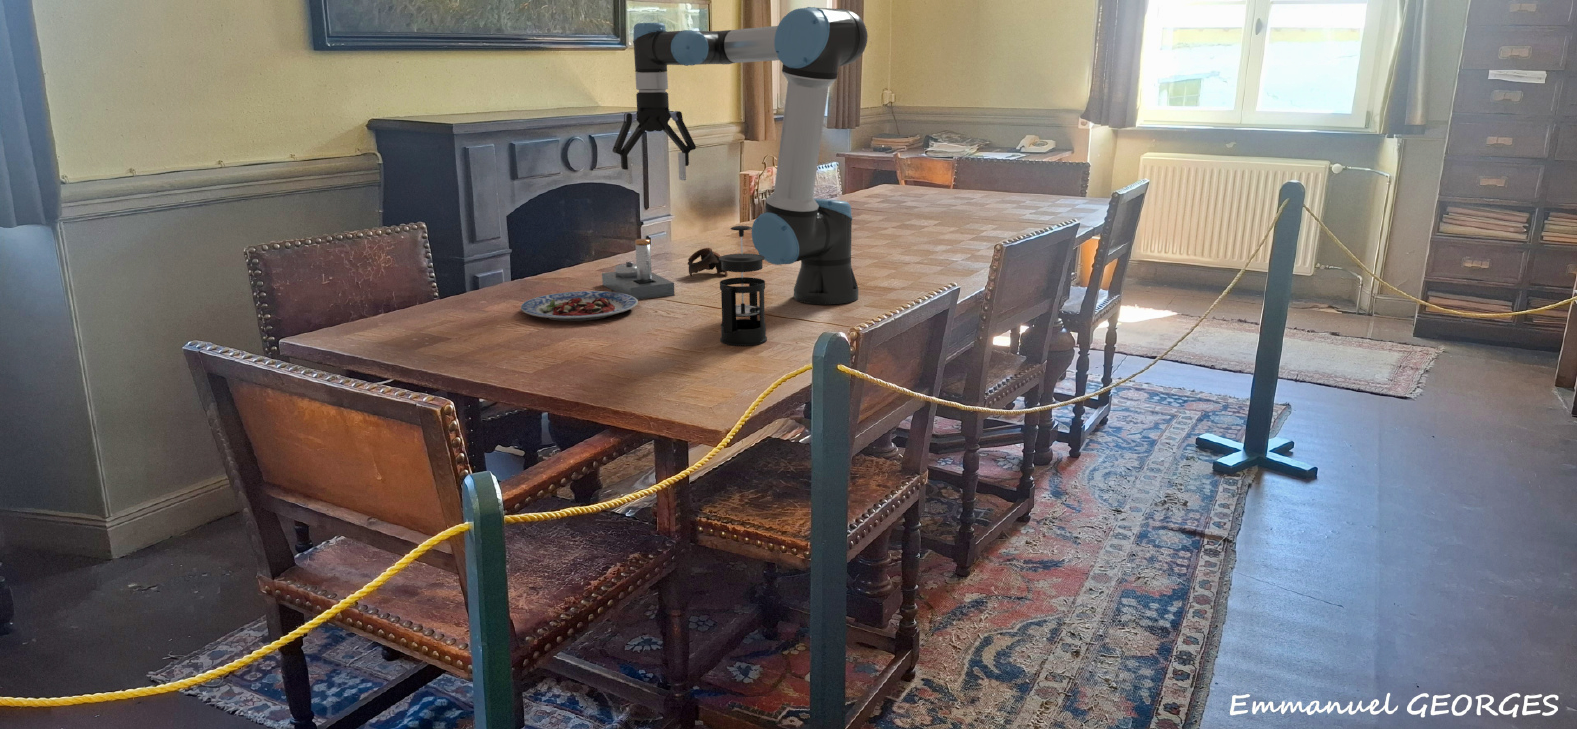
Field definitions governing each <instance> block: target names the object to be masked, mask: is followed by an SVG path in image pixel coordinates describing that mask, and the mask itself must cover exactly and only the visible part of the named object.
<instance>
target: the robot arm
mask: <svg viewBox="0 0 1577 729" xmlns="http://www.w3.org/2000/svg"><path fill="white" fill-rule="evenodd" d="M868 37H869V36H868V29H867V26H866V24H865V23H864V21H863V19H862V18H861V17H860V16H859V15H858V14H856V13H855V12H854V11H852V10H849V9H845V8H827V7H815V6H814V7H811V6H807V7H802V8H801V7H799V8H795V9H793V10H791V11H789V12H788V13H787V14H785V16H784V17H782V19H781V20H780V21H779V23H778V25H771V26H770V25H769V26H761V27H752V28H751V27H750V28H738V29H726V30H709V31H708V30H692V29H689V30H687V29H684V30H671V31H668V30H667V29H666V25H665V23H663V22H637V23H635V24H634V27H633V40H632V44H633V54H634V69H635V70H634V72H635V73H634V74H635V87H636V90H638V92H636V95H635V97H636V113H630V112H624V113H623V123H622V124H621V125H622V126H621V128H620V130H619V132H618V135H617V138H616V140H615V143H614V145H613V148H612V152H613V153H614V154H617V155H619V156H620V166H621V167H620V168H621V170H625V172H624V173H625V183H626V184H629V185H632V184H633V171H632V170H633V166H632V155H629V153H630V152H631V151H632V149H633V148H634V146H635V145H636V144H637V142H638V141H639V139H641V137H642V136H643V135H644V133H645V132H649V133H650V132H662V131H663V132H665V133H666V136H668V137H669V138H670V139H671V141H672V143H674V144H675V146H677V148H678V149H679V150H680V151H681V152H677V157H678V179H679V180H681V181H687V173H686V172H687V171H686V167H688V166H689V165H690V158H689V156H690V155H689V153H691V151H694V150H696V148H697V145H696V144H695V142H694V140H693V138H692V135H691V134H690V132H689V130H688V128H687V126H686V124H685V122H684V120H683V119H684V118H683V113H682V111H680V110H674V111H673V112H671V111H670V103H669V93H668V91H666V90H668V89H669V83H668V82H669V81H668V79H669V78H668V66H687V67H688V66H695V65H697V66H698V65H732V64H741V63H755V62H757V63H758V62H771V61H772V62H773V61H780V62H781V64H782V68H781V73H782V75H783V76H784V77H785V79H786V80H787V87H786V93H785V94H786V95H785V102H784V103H785V104H784V111H783V118H782V125H781V133H780V134H781V135H780V142H779V151H778V160H777V167H776V173H775V175H776V176H775V181H774V182H775V183H774V190H773V192H772V193H771V194H770V195H769V196H767V197H766V198H765V205H764V206H765V207H764V213H760V215H758V217H757V218H755V219H754V221H753V223H752V227H751V228H752V229H751V239H752V243H753V247H754V249H755V250H757V251H758V252H757V253H758V255H762V256H764V257H765V259H764V260H763V261H766V262H767V263H770V264H771V265H777V266H781V265H790V264H791V265H792V264H794V263H796V262H800V268H799V271H798V274H797V276H796V277H797V278H796V280H795V284H794V287H793V299H794V300H795V301H797V302H801V303H805V304H811V305H841V304H847V303H852V302H855V301H857V300H858V299H859V287H858V286H859V285H858V283H857V279H856V277H855V274H854V270H853V268H852V222H853V216H852V206H851V204H850V203H849V202H848V201H846V200H838V199H825V198H814V195H815V194H814V193H815V186H816V179H817V178H816V177H817V171H818V164H819V157H820V149H821V142H822V135H823V130H824V129H823V128H824V122H825V117H826V116H825V115H826V106H827V101H828V94H829V92H828V91H829V87H830V86H831V85H832V84H834V83H835V82H836V81H837V79H838V74H839V68H840V67H843V66H847V65H850V64H852V63H854V62H856V61H857V60H858V59H860V57H862V55H863V53H864V52H865V50H866V48H867V44H868ZM671 119H672V121H674V122H675V125H676V127H677V129H678V130H679V132H680V134H681V136H682V138H680V136H678V134H677V133H676V132H675V131H674V130H673V128H672V126H671V125H670V124H669V122H670V120H671ZM635 121H637V122H638V125H637V126H636V128H635V130H634V132H632V133H631V136H630V137H629V138H628V140H627V141H626V139H627V137H628V134H629V132H630V129H631V127H632V124H633V123H635ZM682 139H683V140H682ZM625 141H626V143H625ZM624 143H625V144H624Z"/></svg>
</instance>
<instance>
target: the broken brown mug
mask: <svg viewBox="0 0 1577 729" xmlns="http://www.w3.org/2000/svg"><path fill="white" fill-rule="evenodd" d="M721 256H722V255H720V254H719V253H718V252H716V251H713V249H712V248H710V247H704V248H700V249H698V250H697V251H695V252H693V254H691V255H690V256H689V258H688V259H687V261H688V262H687V265H688V274H689V276H690V277H693V274H697V273H701V272H702V271H705V270H706V271H712V270H714V269H716V273H717V274H723V273H724V276H725V277H728V275H729V274H728V271H724V270H722V263H721V261H720V260H719V257H721ZM698 258H700V259H701V260H699V261H696V260H697V259H698ZM694 261H696V262H694Z"/></svg>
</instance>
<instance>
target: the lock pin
mask: <svg viewBox="0 0 1577 729" xmlns="http://www.w3.org/2000/svg"><path fill="white" fill-rule="evenodd" d="M634 244H635V246H634V247H635V264H636V267H637V284H646V283H652V273H653V272H652V255H651V253H652V251H651V239H650V238H637V239H634Z"/></svg>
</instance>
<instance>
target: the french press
mask: <svg viewBox="0 0 1577 729" xmlns="http://www.w3.org/2000/svg"><path fill="white" fill-rule="evenodd" d="M730 230H731V231H738V237H740V253H733V254H732V253H731V254H723V255H720V256H721V257H719V260H720V261H721V263H722V270H724V271H727V272H730V273H741V274H740V277H730V278H725V279H722V280H720V281H719V290H720V293H721V294H720V295H721V323H720V338H719V339H720V340H719V341H720V343H721V344H724V345H726V346H731V347H752V346H759V345H762V344H765V343H766V342H767V341H768V337H767V335H766V334H767V333H766V332H767V329H766V328H767V327H766V326H767V324H766V319H765V289H766V281H765V279H762V278H759V277H747V276H746V277H744V273H750V272H751V273H752V272H757V271H761V270H762V269H763V261H765V260H764V259H765V257H764V256H762V255H759V253H758V254H756V253H743V252H744V251H743V248H744V247H743V238H744V236H745V234H744V233H745V231H749V230H751V231H752V227H751V226H749V225H735V226H732V227H730ZM744 284H745V286H744ZM737 285H739V286H737ZM747 285H748V286H747ZM758 292H759V293H758ZM737 294H741V303H740V304H737ZM744 294H748V295H749V296H748V297H749V298H748V299H749V302H748V303H749V304H745V300H744V299H745V298H744V297H745V296H744ZM758 294H759V295H758ZM758 296H759V299H758ZM758 300H759V301H758ZM758 303H759V304H758ZM747 317H748V318H747ZM758 317H759V319H758ZM738 318H739V319H738Z"/></svg>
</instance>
